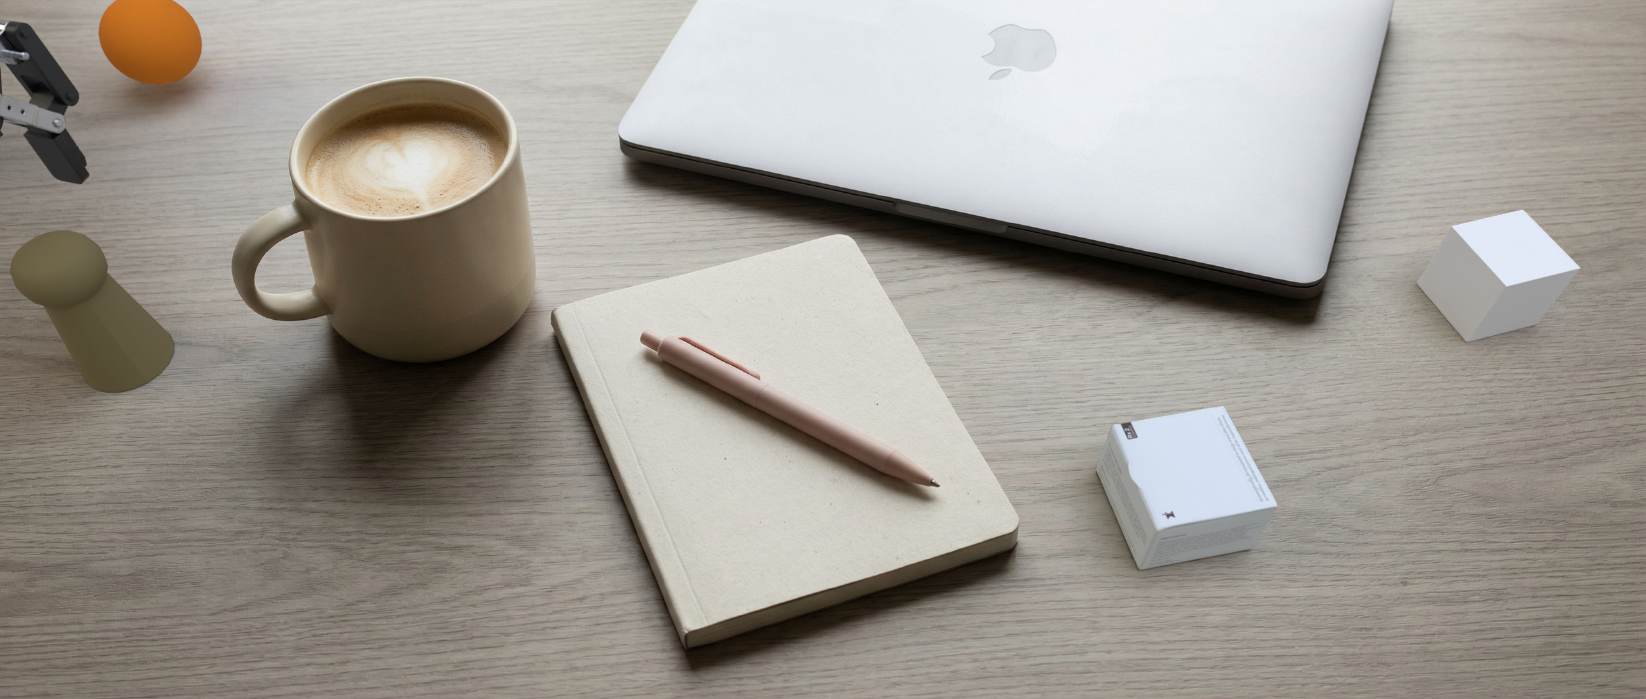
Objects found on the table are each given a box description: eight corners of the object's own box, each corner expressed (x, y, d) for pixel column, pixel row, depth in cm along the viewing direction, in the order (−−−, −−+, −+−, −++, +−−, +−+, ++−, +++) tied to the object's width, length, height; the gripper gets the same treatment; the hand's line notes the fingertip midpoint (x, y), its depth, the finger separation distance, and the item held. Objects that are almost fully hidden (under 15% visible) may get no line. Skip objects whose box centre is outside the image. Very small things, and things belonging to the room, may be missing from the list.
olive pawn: (79, 343, 80) (-11, 234, 71) (168, 314, 81) (92, 204, 73) (86, 404, 76) (-6, 297, 68) (180, 372, 78) (101, 264, 69)
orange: (106, 95, 97) (60, 20, 91) (159, 43, 102) (118, -31, 96) (184, 108, 96) (142, 33, 90) (233, 55, 101) (197, -19, 95)
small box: (1255, 550, 69) (1282, 508, 65) (1136, 573, 68) (1156, 531, 64) (1204, 448, 74) (1226, 402, 70) (1091, 467, 73) (1107, 422, 69)
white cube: (1466, 342, 80) (1506, 286, 75) (1415, 283, 84) (1450, 226, 79) (1537, 324, 81) (1581, 267, 76) (1484, 266, 85) (1523, 208, 80)
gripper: (-109, -89, 61) (52, 142, 74) (-335, 69, 52) (-109, 299, 65) (10, -72, 60) (152, 159, 72) (-201, 92, 51) (3, 322, 64)
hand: (29, 225), depth 69 cm, fingers open, 8 cm apart
